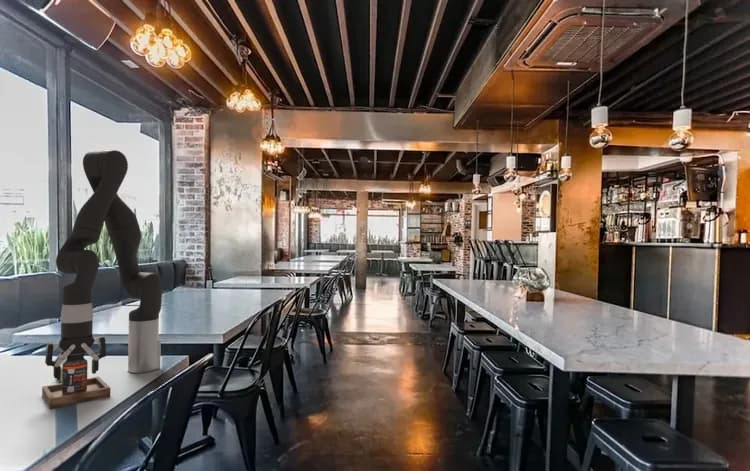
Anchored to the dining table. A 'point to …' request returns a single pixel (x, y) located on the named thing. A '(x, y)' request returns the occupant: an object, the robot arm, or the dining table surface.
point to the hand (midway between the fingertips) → (76, 376)
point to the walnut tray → (93, 392)
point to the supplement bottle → (74, 374)
